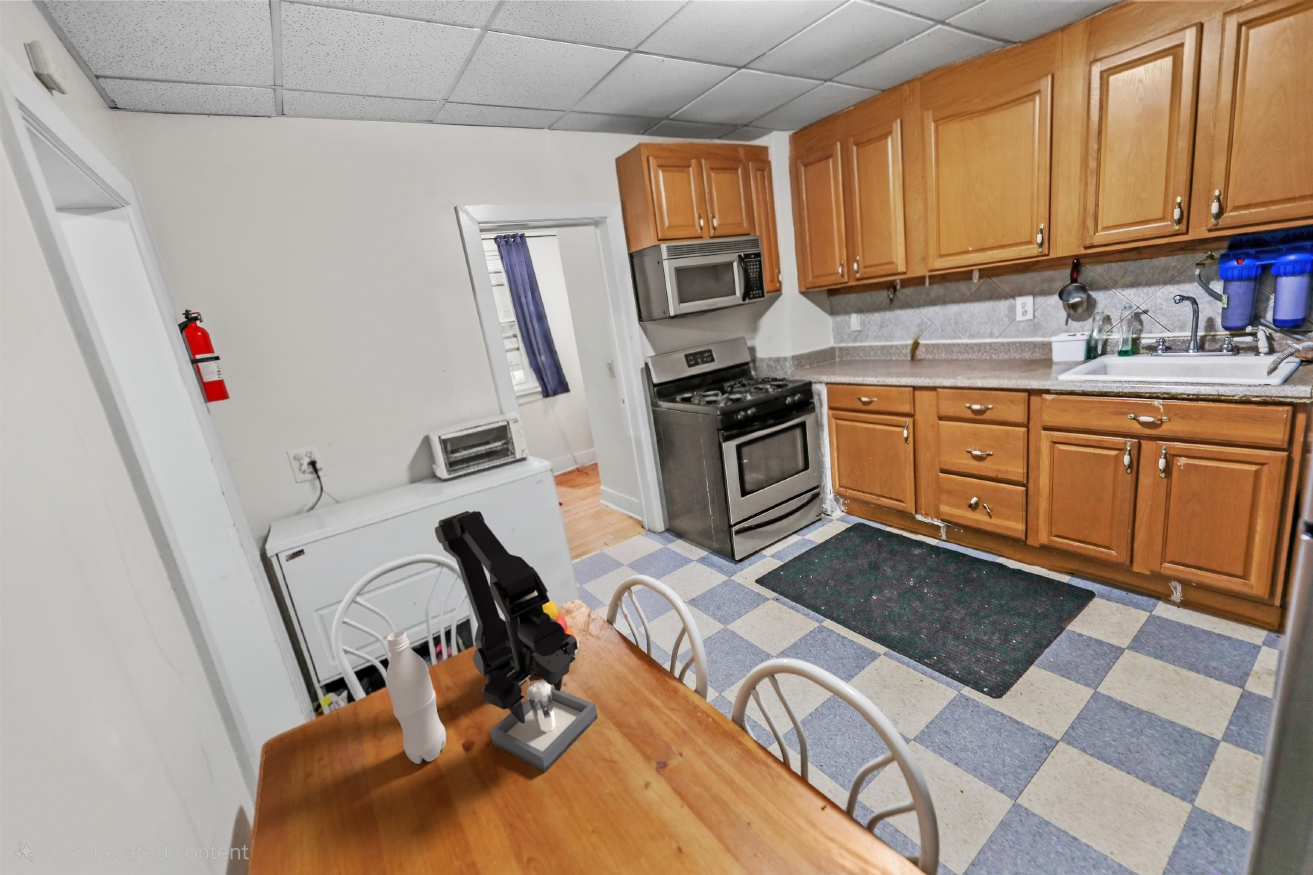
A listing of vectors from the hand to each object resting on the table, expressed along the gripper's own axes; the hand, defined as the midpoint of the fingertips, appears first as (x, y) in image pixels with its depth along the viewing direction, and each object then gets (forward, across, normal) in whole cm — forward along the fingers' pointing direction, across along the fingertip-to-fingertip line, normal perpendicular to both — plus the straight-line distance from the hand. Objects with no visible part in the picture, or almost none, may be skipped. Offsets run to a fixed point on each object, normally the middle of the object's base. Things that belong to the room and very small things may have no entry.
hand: (541, 705), depth 101 cm
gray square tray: (+6, 0, 0) cm, 6 cm away
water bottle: (+6, -14, +17) cm, 23 cm away
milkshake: (+5, 0, 0) cm, 5 cm away
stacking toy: (+6, +17, +16) cm, 24 cm away
